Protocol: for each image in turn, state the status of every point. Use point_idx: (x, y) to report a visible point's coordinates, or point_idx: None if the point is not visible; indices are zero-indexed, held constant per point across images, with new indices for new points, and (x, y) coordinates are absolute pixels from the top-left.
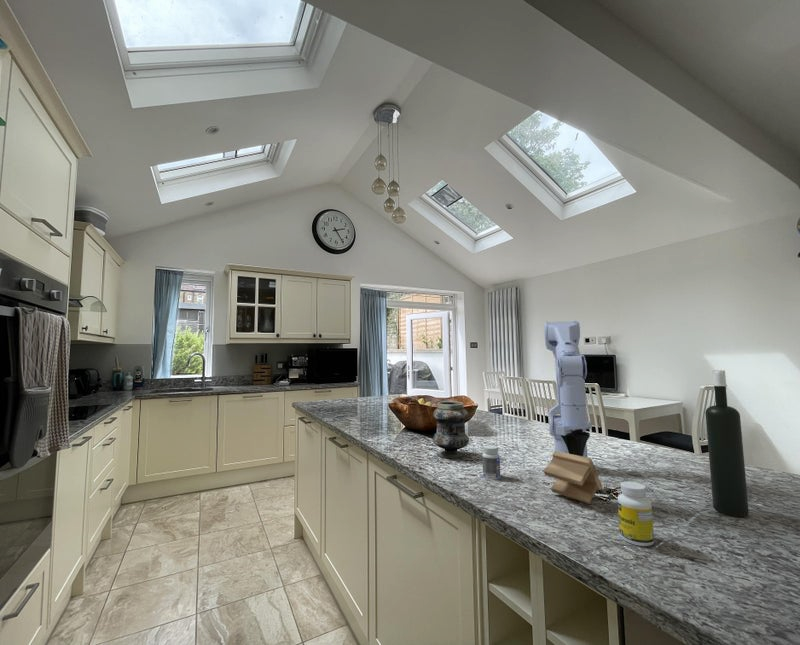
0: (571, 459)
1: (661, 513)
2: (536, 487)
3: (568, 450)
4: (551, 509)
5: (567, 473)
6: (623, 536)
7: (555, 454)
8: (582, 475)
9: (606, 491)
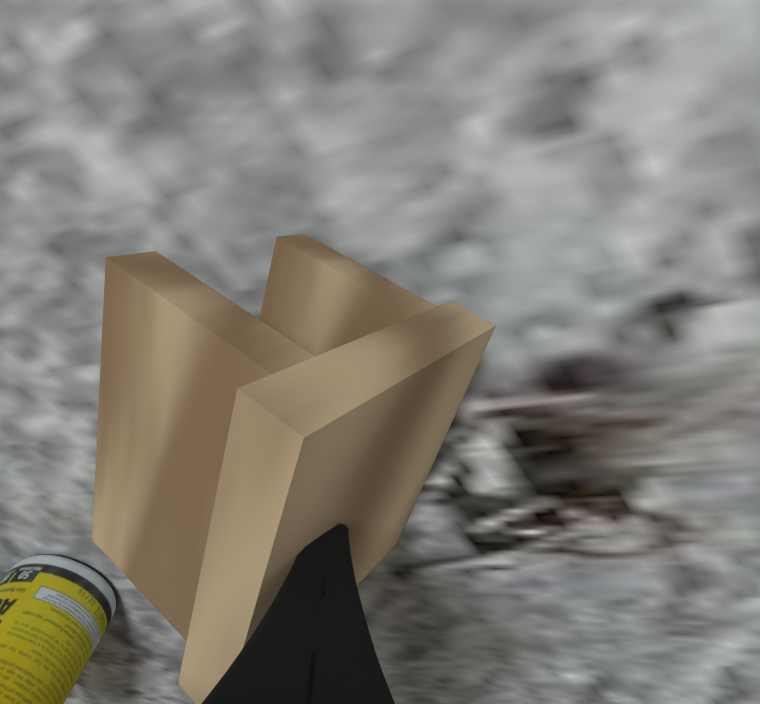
0: (203, 574)
1: (381, 646)
2: (400, 58)
3: (266, 615)
4: (65, 281)
5: (124, 475)
6: (7, 573)
7: (241, 433)
8: (130, 571)
9: (565, 482)
